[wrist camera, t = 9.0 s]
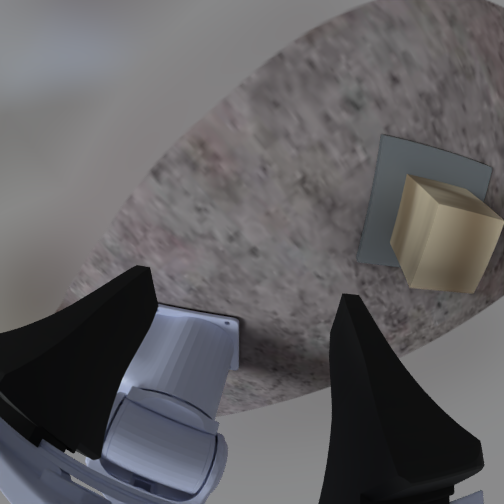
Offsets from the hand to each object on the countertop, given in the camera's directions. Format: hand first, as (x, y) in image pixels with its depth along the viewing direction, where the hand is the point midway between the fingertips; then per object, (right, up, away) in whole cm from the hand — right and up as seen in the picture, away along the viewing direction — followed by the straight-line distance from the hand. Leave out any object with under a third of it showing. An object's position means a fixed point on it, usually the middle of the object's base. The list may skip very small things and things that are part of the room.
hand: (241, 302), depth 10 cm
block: (+12, +4, +6) cm, 14 cm away
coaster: (+13, +5, +6) cm, 15 cm away
